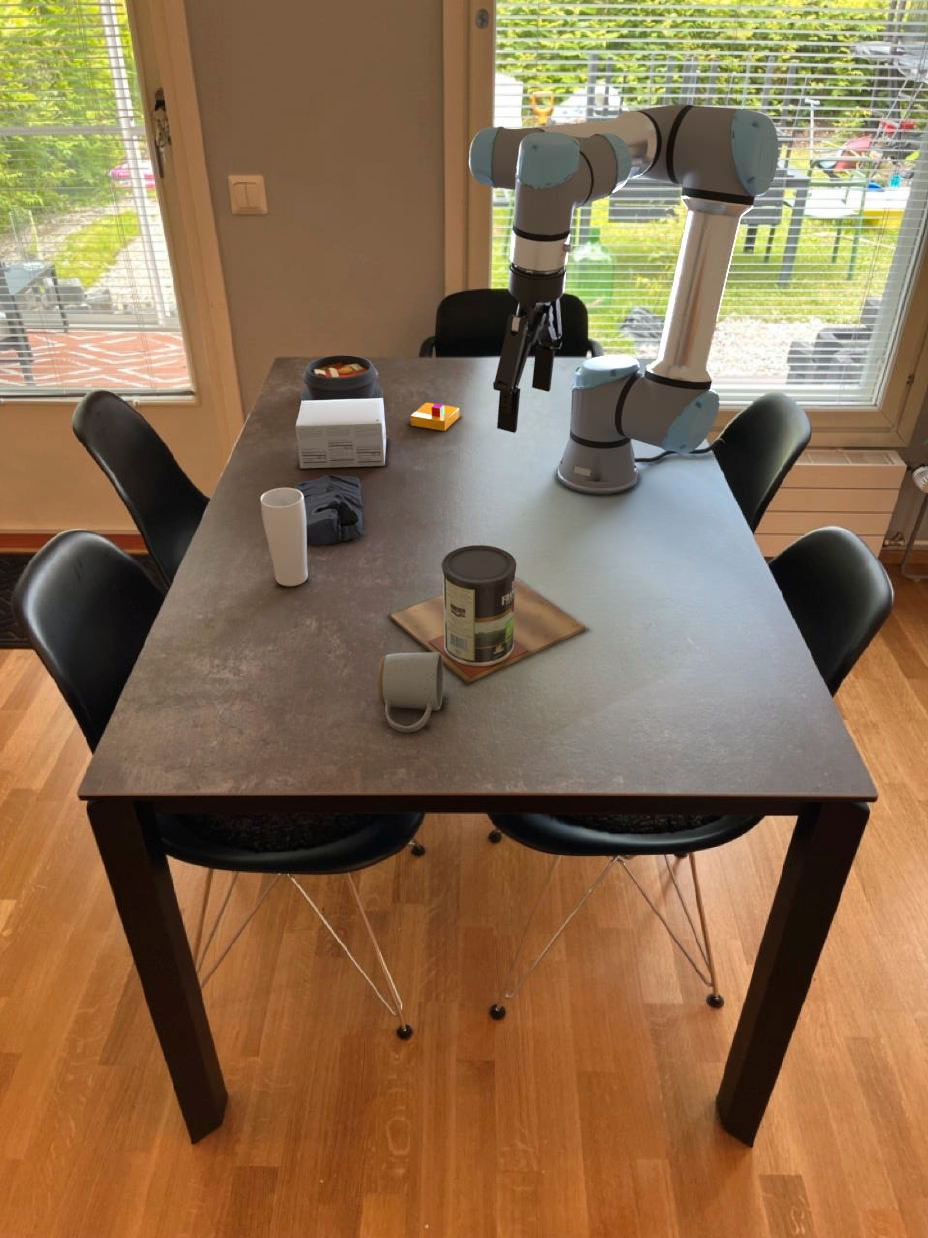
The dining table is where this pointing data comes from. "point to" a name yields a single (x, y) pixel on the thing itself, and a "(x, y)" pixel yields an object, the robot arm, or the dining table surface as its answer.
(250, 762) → the dining table surface
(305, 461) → the supplement box
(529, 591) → the placemat
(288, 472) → the dining table surface
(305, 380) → the casserole
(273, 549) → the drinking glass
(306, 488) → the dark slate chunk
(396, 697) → the ceramic mug
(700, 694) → the dining table surface
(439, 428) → the yellow tile with knob
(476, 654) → the coffee can
